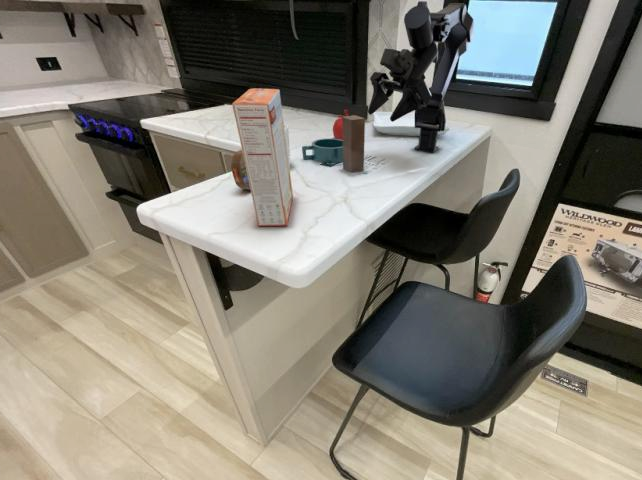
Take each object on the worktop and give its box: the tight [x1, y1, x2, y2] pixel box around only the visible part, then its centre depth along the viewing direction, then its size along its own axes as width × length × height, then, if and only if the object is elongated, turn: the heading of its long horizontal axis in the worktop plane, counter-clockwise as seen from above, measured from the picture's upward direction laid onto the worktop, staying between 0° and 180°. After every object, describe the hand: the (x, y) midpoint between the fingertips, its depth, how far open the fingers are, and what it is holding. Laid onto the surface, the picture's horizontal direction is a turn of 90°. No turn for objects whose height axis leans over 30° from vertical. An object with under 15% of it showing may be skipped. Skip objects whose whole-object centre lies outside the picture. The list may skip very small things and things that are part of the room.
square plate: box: [372, 111, 451, 137], centre depth 127 cm, size 27×27×4 cm
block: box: [341, 114, 366, 174], centre depth 85 cm, size 4×4×13 cm
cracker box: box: [231, 87, 294, 227], centre depth 62 cm, size 14×6×21 cm, turn 5°
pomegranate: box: [332, 109, 356, 140], centre depth 109 cm, size 10×10×9 cm
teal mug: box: [301, 138, 343, 164], centre depth 94 cm, size 13×10×4 cm
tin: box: [230, 148, 251, 191], centre depth 77 cm, size 15×3×8 cm, turn 168°
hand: (379, 116), depth 84 cm, fingers open, 9 cm apart
